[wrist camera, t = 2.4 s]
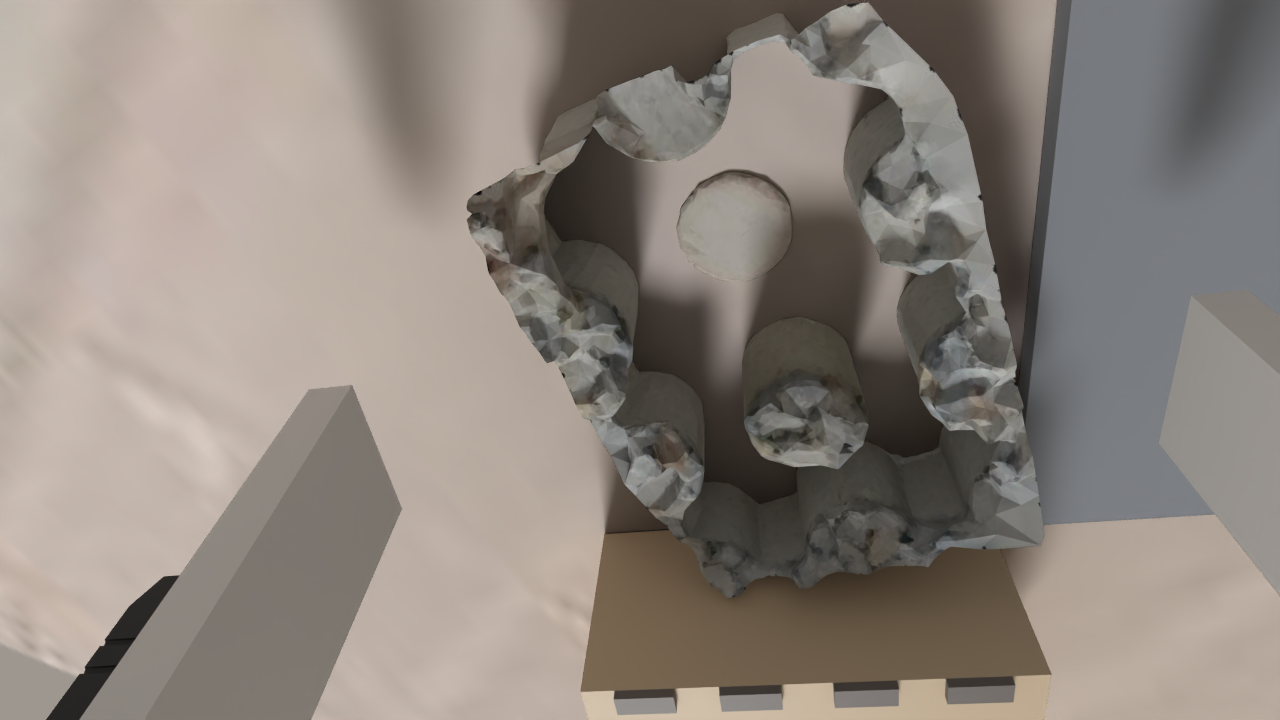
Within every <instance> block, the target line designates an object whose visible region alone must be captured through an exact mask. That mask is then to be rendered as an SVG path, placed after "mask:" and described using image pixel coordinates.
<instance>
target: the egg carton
mask: <svg viewBox="0 0 1280 720" xmlns="http://www.w3.org/2000/svg"><path fill="white" fill-rule="evenodd" d="M726 41H727V48H728V50H727V55H726V56H725V57H723V58H721V59H720V60H718V61H717V62H716V63H715V64H714V65H713V66H712V68H711V70H710V72H709V74H707V75H706V76H705V77H703V78H701V79H698V80H695V81H691V82H687V81H686V80H685V79H684V78H683V77H682V76H681V75H680V74H679V73H678V72H677V71H676V70H675V69H674V68H673V67H672V66H669V67H667V68H665V69H662V70H657V71H654V72H651V73H649V74H647V75H644V76H642V77H639V78H636V79H633V80H630V81H627V82H625V83H622V84H620V85H617V86H615V87H612V88H610V89H607V90H605V91H603V92H602V93H600V94H599V95H597V97H596V98H595V99H592V100H590V101H588V102H586V103H583V104H581V105H579V106H577V107H575V108H572V109H570V110H567V111H566V112H564V113H562V114H560V115H559V116H558V118H557V119H556V121H555V123H554V125H553V127H552V129H551V131H550V133H549V134H548V136H547V137H546V139H545V141H544V146H543V149H542V151H541V152H540V154H539V161H540V162H539V163H536V164H534V165H531V166H528V167H526V168H523V169H515V170H514V171H513V172H511V173H510V174H509V175H508V176H506V177H505V178H504V179H502V180H500V181H498V182H496V183H495V184H493V185H491V186H489V187H487V188H485V189H483V190H481V191H479V192H478V193H476V194H474V195H473V196H472V197H471V198H470V199H469V200H468V203H467V210H468V211H469V212H471V213H472V215H471V216H470V217H469V218H468V219H467V222H468V226H469V230H470V234H471V236H472V237H473V239H474V240H475V241H476V243H477V244H478V245H479V246H480V248H481V249H482V251H483V253H484V254H485V256H486V262H487V267H488V271H489V274H490V276H491V277H492V279H493V280H494V282H495V283H496V285H497V287H498V289H499V291H500V293H501V294H502V295H503V296H505V298H506V299H507V300H508V302H509V303H510V305H511V307H512V310H513V312H514V314H515V317H516V319H517V321H518V324H519V326H520V328H521V329H522V330H523V331H524V332H525V333H526V335H527V336H528V338H529V339H530V341H531V343H532V344H533V345H534V346H535V347H536V349H537V350H538V351H539V352H540V354H541V356H542V357H543V359H544V360H545V361H546V362H547V363H549V362H552V361H555V362H556V364H557V365H558V367H559V369H560V371H561V373H562V375H563V377H564V379H565V381H566V383H567V386H568V388H569V390H570V392H571V394H572V397H573V399H574V401H575V404H576V406H577V408H578V410H579V412H580V413H581V415H582V417H583V418H584V419H587V420H590V421H591V423H592V425H593V427H594V428H595V430H596V432H597V434H598V436H599V438H600V439H601V441H602V443H603V445H604V446H605V448H606V449H607V451H608V452H609V454H610V455H611V457H612V459H613V461H614V464H615V466H616V468H617V470H618V472H619V474H620V476H621V478H622V480H623V483H624V485H625V486H626V487H627V488H628V489H629V490H630V491H631V492H632V493H633V494H634V495H635V496H636V497H637V498H638V499H639V500H640V501H641V502H642V503H643V505H644V506H645V507H646V508H647V509H648V510H649V511H650V512H651V513H652V514H653V515H654V516H655V517H656V518H657V519H658V520H660V521H661V522H663V523H664V524H666V525H667V527H668V528H669V530H670V531H671V533H672V534H673V536H674V537H675V538H676V539H677V540H679V541H680V542H681V543H685V544H688V545H689V546H690V547H691V548H692V549H693V550H694V552H695V554H696V556H697V560H698V564H699V568H700V571H701V573H702V574H703V576H704V577H705V579H706V580H707V582H708V583H709V584H710V585H711V587H714V588H716V589H717V590H718V591H719V592H720V593H722V594H723V595H724V596H725V597H727V598H731V597H735V596H738V595H740V594H742V593H743V592H744V590H745V589H746V587H747V585H748V584H749V583H750V582H752V581H753V580H755V579H760V578H765V577H771V576H782V577H790V578H791V580H792V581H793V582H794V583H795V584H796V585H797V587H798V588H799V589H808V588H811V587H813V586H814V585H815V584H816V583H818V582H819V581H820V580H821V579H823V578H824V577H825V576H826V575H829V574H832V573H834V572H847V573H855V574H856V575H859V574H860V573H862V574H865V575H869V574H871V573H873V572H875V571H877V570H879V569H882V568H885V567H888V566H924V567H929V566H930V564H931V563H932V561H933V560H934V559H935V558H936V557H937V556H938V555H939V554H941V553H942V552H943V551H944V550H946V549H948V548H949V547H961V548H971V549H1005V548H1017V547H1028V546H1040V545H1041V543H1042V540H1043V537H1044V529H1043V521H1042V514H1041V506H1040V499H1039V492H1038V486H1037V480H1036V474H1035V468H1034V462H1033V456H1032V452H1031V449H1030V445H1029V442H1028V438H1027V434H1026V430H1025V425H1024V420H1023V415H1022V409H1023V408H1024V407H1023V402H1022V399H1021V396H1020V393H1019V390H1018V387H1017V384H1016V376H1015V371H1016V367H1017V363H1016V358H1015V353H1014V348H1013V343H1012V338H1011V334H1010V330H1009V326H1008V322H1007V319H1006V315H1005V312H1004V308H1003V305H1002V300H1001V294H1000V289H999V283H998V277H997V271H996V265H995V262H994V258H993V254H992V250H991V246H990V242H989V238H988V234H987V230H986V224H985V216H984V208H983V201H982V196H981V192H980V187H979V183H978V178H977V174H976V169H975V165H974V160H973V156H972V151H971V147H970V142H969V138H968V134H967V131H966V128H965V126H964V123H963V120H962V118H961V115H960V113H959V110H958V107H957V105H956V102H955V99H954V97H953V95H952V94H951V92H950V91H949V90H948V88H947V87H946V86H945V84H944V83H943V82H942V80H941V79H940V78H939V76H938V75H937V74H936V72H935V71H934V70H933V69H932V68H931V67H930V66H929V65H928V64H927V63H926V62H925V61H924V60H923V59H922V58H921V57H920V56H919V55H918V54H917V53H916V52H915V51H914V50H913V49H912V48H911V47H910V46H909V45H908V44H907V43H906V42H905V41H904V40H903V39H901V38H900V37H899V36H898V35H897V34H896V33H895V32H894V31H893V30H892V29H891V28H890V27H889V26H888V25H887V24H886V23H885V22H884V21H883V20H882V19H881V17H880V16H879V15H878V14H877V12H876V11H875V10H874V9H873V8H872V6H871V5H870V4H869V3H858V4H848V5H844V6H842V7H839V8H837V9H835V10H832V11H830V12H829V13H828V14H826V15H825V16H823V17H822V18H821V19H819V20H818V21H816V22H814V23H813V24H811V25H810V26H808V27H807V28H805V29H804V30H803V31H802V32H801V33H800V34H798V33H797V31H796V30H795V29H794V28H793V27H792V25H791V24H790V22H789V21H788V20H787V18H786V17H785V16H784V14H783V13H775V14H772V15H770V16H768V17H766V18H763V19H761V20H759V21H757V22H754V23H752V24H750V25H747V26H743V27H739V28H737V29H736V30H734V31H733V32H731V33H730V34H729V35H728V36H727V37H726ZM767 42H785V43H786V44H787V46H788V47H789V49H790V50H791V51H792V52H793V53H794V54H796V55H797V56H798V57H799V58H800V59H801V60H802V61H803V62H804V63H805V64H806V65H807V66H808V67H809V69H810V71H811V73H812V75H814V76H818V77H822V78H826V79H829V80H833V81H837V82H842V83H851V84H859V85H864V86H868V87H873V88H878V89H882V90H883V91H884V92H885V93H887V96H888V99H886V100H885V101H883V102H882V103H880V104H879V105H877V106H876V107H874V108H873V109H871V110H870V111H868V112H867V113H866V114H865V115H864V117H863V118H862V119H861V120H860V121H859V123H858V124H857V125H856V127H855V128H854V130H853V131H852V133H851V135H850V137H849V139H848V143H847V145H846V148H845V154H844V179H845V181H846V183H847V185H848V188H849V191H850V195H851V198H852V200H853V203H854V205H855V207H856V210H857V213H858V216H859V218H860V221H861V223H862V225H863V227H864V229H865V231H866V233H867V235H868V237H869V238H870V240H871V241H872V243H873V244H874V245H875V247H876V249H877V251H878V254H879V256H880V263H882V264H884V265H886V266H889V267H898V268H901V269H903V270H906V271H908V272H911V273H914V274H917V276H916V277H915V278H914V279H913V280H912V281H911V282H910V284H909V285H908V286H907V287H906V289H905V291H904V292H903V294H902V296H901V297H900V300H899V303H898V306H897V319H898V325H899V329H900V332H901V334H902V337H903V340H904V343H905V346H906V349H907V352H908V354H909V357H910V360H911V363H912V366H913V368H914V371H915V373H916V375H917V378H918V387H919V396H920V398H921V399H922V401H923V402H924V404H925V406H926V407H927V409H928V410H929V412H930V413H931V415H932V416H933V417H935V418H936V419H938V420H939V421H940V422H942V424H943V425H944V426H943V428H942V430H941V434H940V440H939V446H938V448H936V449H935V450H933V451H931V452H927V453H923V454H920V455H916V456H911V457H906V458H903V457H902V456H900V455H898V454H890V453H887V451H886V450H883V449H882V448H880V447H879V446H877V445H875V444H872V443H870V442H867V441H864V440H865V436H866V433H867V429H868V425H869V424H868V416H869V411H868V408H867V405H866V402H865V399H864V396H863V393H862V390H861V387H860V384H859V381H858V378H857V375H856V372H855V368H854V364H853V361H852V357H851V354H850V350H849V347H848V345H847V343H846V341H845V339H844V338H843V337H842V336H841V335H840V334H839V333H838V332H837V331H835V330H834V329H833V328H831V327H829V326H827V325H825V324H823V323H821V322H818V321H814V320H811V319H808V318H804V317H795V318H787V319H780V320H778V321H776V322H774V323H772V324H769V325H767V326H766V327H764V328H763V329H762V330H760V331H759V332H758V333H756V334H755V335H754V336H753V337H752V338H751V340H750V341H749V343H748V345H747V347H746V349H745V351H744V356H743V362H742V385H743V405H744V425H745V429H746V431H747V432H748V434H749V437H750V440H751V442H752V445H753V446H754V447H755V448H756V450H757V451H758V452H759V454H760V455H761V456H762V457H764V458H765V459H767V460H770V461H774V462H778V463H782V464H785V465H789V466H793V467H798V469H797V474H796V484H797V492H796V493H795V494H793V495H790V496H787V497H782V498H779V499H777V500H774V501H770V502H766V503H762V504H759V503H757V502H756V501H754V500H753V499H752V498H751V497H750V496H749V495H747V494H746V493H745V492H744V491H742V490H741V489H739V488H737V487H735V486H733V485H731V484H728V483H722V482H715V481H713V482H703V479H704V471H705V455H704V449H705V419H704V412H703V405H702V401H701V399H700V398H699V396H698V395H697V393H696V392H695V390H694V389H693V388H692V387H691V386H689V385H688V384H687V383H686V382H685V381H683V380H682V379H680V378H678V377H676V376H675V375H672V374H667V373H661V372H654V371H644V372H640V371H639V370H637V368H636V367H635V365H634V363H633V362H632V355H633V340H634V335H635V327H636V320H637V313H638V291H639V286H638V283H637V280H636V277H635V274H634V272H633V270H632V269H631V268H630V266H629V265H628V264H627V262H626V261H625V260H624V259H623V258H621V257H620V256H619V255H618V254H617V253H616V252H615V251H614V250H612V249H610V248H608V247H606V246H605V245H603V244H601V243H596V242H590V241H584V240H569V241H561V240H560V239H559V238H558V236H557V234H556V233H555V231H554V230H553V228H552V226H551V225H550V223H549V222H548V220H547V219H546V217H545V214H544V205H545V198H546V196H547V194H548V192H549V190H550V188H551V186H552V184H553V182H554V180H555V177H556V174H557V173H559V172H560V171H561V170H563V169H564V168H566V167H567V166H568V165H570V164H571V163H572V162H574V160H575V158H576V156H577V155H578V153H579V151H580V150H581V148H582V146H583V144H584V143H585V141H586V139H587V137H588V136H589V134H590V132H591V129H592V127H594V128H595V129H596V130H597V131H598V133H599V134H600V135H601V137H602V138H603V139H604V140H605V142H606V143H607V144H609V145H610V146H612V147H614V148H615V149H617V150H619V151H620V152H622V153H624V154H625V155H627V156H629V157H631V158H634V159H637V160H642V161H648V162H660V161H668V160H672V161H679V160H681V159H683V158H685V157H687V156H690V155H692V154H693V153H695V152H697V151H699V150H700V149H701V148H703V147H704V146H706V145H707V143H708V142H709V141H710V140H711V139H712V138H713V137H714V136H715V135H716V133H717V132H718V131H719V130H720V129H721V126H722V124H723V122H724V120H725V118H726V114H727V110H728V106H729V102H730V98H731V68H732V64H733V60H734V59H735V58H736V57H738V56H739V55H740V54H742V53H743V52H745V51H746V50H749V49H752V48H754V47H757V46H759V45H762V44H765V43H767ZM677 233H678V238H679V242H680V247H681V249H682V251H683V252H684V253H685V254H686V255H687V257H688V261H689V262H691V263H693V264H694V267H695V268H696V269H698V270H699V271H701V272H703V273H705V274H707V275H708V276H710V277H712V278H715V279H719V280H722V281H734V282H743V281H747V280H752V279H756V278H758V277H759V276H761V275H763V274H765V273H766V272H768V271H770V270H771V269H772V268H773V267H774V266H775V265H776V264H777V263H778V262H779V261H780V260H781V259H782V258H783V257H784V256H785V254H786V252H787V249H788V247H789V244H790V242H791V239H792V215H791V210H790V206H789V204H788V202H787V200H786V199H785V197H784V196H783V194H782V193H781V192H780V191H779V190H778V189H777V188H776V187H775V186H774V185H772V184H771V183H769V182H767V181H765V180H763V179H761V178H759V177H756V176H753V175H749V174H746V173H741V172H729V173H725V174H721V175H718V176H715V177H711V178H710V179H708V180H707V181H705V182H703V183H702V184H700V185H699V186H697V187H696V189H695V190H694V193H693V194H691V195H690V196H689V197H688V199H687V200H686V201H685V203H684V204H683V206H682V207H681V209H680V216H679V220H678V224H677Z"/></svg>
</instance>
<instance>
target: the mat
mask: <svg viewBox="0 0 1280 720" xmlns="http://www.w3.org/2000/svg"><path fill="white" fill-rule="evenodd" d="M1240 290H1248V291H1249V292H1250V293H1252V294H1253V295H1254V296H1256V297H1257V298H1258V299H1259V300H1261V301H1262V302H1263V303H1264V304H1266V305H1267V306H1268V307H1269V308H1271V309H1272V310H1273V311H1274V312H1276V313H1277V314H1278V315H1279V316H1280V0H1057V10H1056V20H1055V30H1054V40H1053V50H1052V60H1051V70H1050V79H1049V89H1048V99H1047V109H1046V119H1045V129H1044V139H1043V149H1042V159H1041V168H1040V178H1039V188H1038V198H1037V208H1036V218H1035V228H1034V238H1033V247H1032V257H1031V267H1030V277H1029V287H1028V297H1027V307H1026V317H1025V326H1024V336H1023V346H1022V356H1021V366H1020V376H1019V386H1018V390H1019V393H1020V396H1021V399H1022V402H1023V407H1024V408H1023V409H1022V415H1023V420H1024V425H1025V430H1026V434H1027V438H1028V442H1029V445H1030V449H1031V452H1032V456H1033V462H1034V468H1035V474H1036V480H1037V486H1038V492H1039V499H1040V506H1041V514H1042V521H1043V525H1049V524H1066V523H1082V522H1099V521H1115V520H1132V519H1148V518H1164V517H1181V516H1197V515H1214V512H1213V511H1212V510H1211V509H1210V507H1209V506H1208V505H1207V504H1206V502H1205V501H1204V500H1203V498H1202V497H1201V496H1200V495H1199V493H1198V492H1197V491H1196V490H1195V488H1194V487H1193V486H1192V485H1191V483H1190V482H1189V481H1188V479H1187V478H1186V477H1185V476H1184V474H1183V473H1182V472H1181V471H1180V469H1179V468H1178V467H1177V466H1176V464H1175V463H1174V462H1173V460H1172V459H1171V458H1170V457H1169V455H1168V454H1167V453H1166V452H1165V450H1164V449H1163V448H1162V447H1161V445H1160V444H1159V440H1160V435H1161V431H1162V426H1163V422H1164V417H1165V412H1166V408H1167V403H1168V399H1169V394H1170V390H1171V385H1172V381H1173V376H1174V372H1175V367H1176V362H1177V358H1178V353H1179V349H1180V344H1181V340H1182V335H1183V331H1184V326H1185V321H1186V317H1187V312H1188V308H1189V303H1190V299H1191V296H1193V295H1202V294H1212V293H1221V292H1231V291H1240Z"/></svg>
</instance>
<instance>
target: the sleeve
mask: <svg viewBox="0 0 1280 720" xmlns="http://www.w3.org/2000/svg"><path fill="white" fill-rule="evenodd" d="M1051 676H1052V674H1051V672H1050V669H1049V667H1048V665H1047V662H1046V660H1045V657H1044V655H1043V653H1042V650H1041V648H1040V645H1039V643H1038V640H1037V638H1036V636H1035V633H1034V631H1033V628H1032V626H1031V624H1030V621H1029V619H1028V616H1027V614H1026V611H1025V609H1024V607H1023V604H1022V602H1021V599H1020V597H1019V595H1018V592H1017V590H1016V587H1015V585H1014V582H1013V580H1012V578H1011V575H1010V573H1009V570H1008V568H1007V566H1006V563H1005V561H1004V558H1003V556H1002V553H1001V551H1000V549H971V548H961V547H949V548H948V549H946V550H944V551H943V552H942V553H941V554H939V555H938V556H937V557H936V558H935V559H934V560H933V561H932V563H931V564H930V566H929V567H924V566H888V567H885V568H882V569H879V570H877V571H875V572H873V573H871V574H869V575H865V574H862V573H860V574H859V575H856V574H855V573H847V572H834V573H832V574H829V575H826V576H825V577H824V578H823V579H821V580H820V581H819V582H818V583H816V584H815V585H814V586H813V587H811V588H808V589H799V588H798V587H797V585H796V584H795V583H794V582H793V581H792V580H791V578H790V577H782V576H771V577H765V578H760V579H755V580H753V581H752V582H750V583H749V584H748V585H747V587H746V589H745V590H744V592H743V593H742V594H740V595H738V596H735V597H731V598H727V597H725V596H724V595H723V594H722V593H720V592H719V591H718V590H717V589H716V588H714V587H711V585H710V584H709V583H708V582H707V580H706V579H705V577H704V576H703V574H702V573H701V571H700V568H699V564H698V560H697V556H696V554H695V552H694V550H693V549H692V548H691V547H690V546H689V545H688V544H685V543H681V542H680V541H679V540H677V539H676V538H675V537H674V536H673V534H672V533H671V531H670V530H663V531H647V532H631V533H616V534H604V541H603V547H602V554H601V560H600V567H599V574H598V580H597V587H596V593H595V600H594V606H593V613H592V619H591V626H590V633H589V639H588V646H587V652H586V659H585V665H584V672H583V678H582V685H581V696H582V699H583V702H584V706H585V709H586V712H587V716H588V719H589V720H1044V719H1045V713H1046V707H1047V701H1048V695H1049V688H1050V682H1051Z"/></svg>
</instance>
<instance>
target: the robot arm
mask: <svg viewBox="0 0 1280 720" xmlns="http://www.w3.org/2000/svg"><path fill="white" fill-rule="evenodd" d="M1159 444H1160V445H1161V447H1162V448H1163V449H1164V450H1165V452H1166V453H1167V454H1168V455H1169V457H1170V458H1171V459H1172V460H1173V462H1174V463H1175V464H1176V466H1177V467H1178V468H1179V469H1180V471H1181V472H1182V473H1183V474H1184V476H1185V477H1186V478H1187V479H1188V481H1189V482H1190V483H1191V485H1192V486H1193V487H1194V488H1195V490H1196V491H1197V492H1198V493H1199V495H1200V496H1201V497H1202V498H1203V500H1204V501H1205V502H1206V504H1207V505H1208V506H1209V507H1210V509H1211V510H1212V511H1213V512H1214V514H1215V515H1216V516H1217V517H1218V519H1219V520H1220V521H1221V523H1222V524H1223V525H1224V526H1225V528H1226V529H1227V530H1228V531H1229V533H1230V534H1231V535H1232V536H1233V538H1234V539H1235V540H1236V542H1237V543H1238V544H1239V545H1240V547H1241V548H1242V549H1243V550H1244V552H1245V553H1246V554H1247V555H1248V557H1249V558H1250V559H1251V561H1252V562H1253V563H1254V564H1255V566H1256V567H1257V568H1258V569H1259V571H1260V572H1261V573H1262V574H1263V576H1264V577H1265V578H1266V579H1267V581H1268V582H1269V583H1270V585H1271V586H1272V587H1273V588H1274V590H1275V591H1276V592H1277V593H1278V595H1279V596H1280V316H1279V315H1278V314H1277V313H1276V312H1274V311H1273V310H1272V309H1271V308H1269V307H1268V306H1267V305H1266V304H1264V303H1263V302H1262V301H1261V300H1259V299H1258V298H1257V297H1256V296H1254V295H1253V294H1252V293H1250V292H1249V291H1248V290H1240V291H1231V292H1221V293H1212V294H1202V295H1193V296H1191V299H1190V303H1189V308H1188V312H1187V317H1186V321H1185V326H1184V331H1183V335H1182V340H1181V344H1180V349H1179V353H1178V358H1177V362H1176V367H1175V372H1174V376H1173V381H1172V385H1171V390H1170V394H1169V399H1168V403H1167V408H1166V412H1165V417H1164V422H1163V426H1162V431H1161V435H1160V440H1159ZM401 510H402V508H401V505H400V503H399V500H398V498H397V495H396V493H395V490H394V488H393V485H392V483H391V480H390V478H389V475H388V473H387V470H386V468H385V466H384V463H383V461H382V458H381V456H380V453H379V451H378V448H377V446H376V443H375V441H374V438H373V436H372V433H371V431H370V428H369V426H368V423H367V421H366V419H365V416H364V414H363V411H362V409H361V406H360V404H359V401H358V399H357V396H356V394H355V391H354V389H353V386H352V385H348V386H339V387H330V388H320V389H311V390H308V392H307V393H306V395H305V396H304V398H303V399H302V400H301V402H300V403H299V405H298V406H297V408H296V409H295V411H294V412H293V413H292V415H291V416H290V418H289V419H288V421H287V422H286V423H285V425H284V426H283V428H282V429H281V431H280V432H279V434H278V435H277V436H276V438H275V439H274V441H273V442H272V444H271V445H270V446H269V448H268V449H267V451H266V452H265V454H264V455H263V457H262V458H261V459H260V461H259V462H258V464H257V465H256V467H255V468H254V469H253V471H252V472H251V474H250V475H249V477H248V478H247V480H246V481H245V482H244V484H243V485H242V487H241V488H240V490H239V491H238V492H237V494H236V495H235V497H234V498H233V500H232V501H231V503H230V504H229V505H228V507H227V508H226V510H225V511H224V513H223V514H222V515H221V517H220V518H219V520H218V521H217V523H216V524H215V526H214V527H213V528H212V530H211V531H210V533H209V534H208V536H207V537H206V538H205V540H204V541H203V543H202V544H201V546H200V547H199V549H198V550H197V551H196V553H195V554H194V556H193V557H192V559H191V560H190V561H189V563H188V564H187V566H186V567H185V569H184V570H183V572H182V573H181V574H180V575H178V576H165V577H163V578H162V579H160V580H159V581H158V582H157V583H156V584H155V585H154V586H152V587H151V588H150V589H149V590H148V591H147V592H145V593H144V594H143V595H142V596H141V597H140V598H138V599H137V600H136V601H135V602H134V603H133V604H131V605H130V606H129V607H128V609H127V610H126V612H125V613H124V614H123V616H122V617H121V618H120V620H119V621H118V622H117V624H116V625H115V627H114V628H113V629H112V631H111V632H110V633H109V635H108V636H107V637H106V639H105V645H104V646H100V647H99V648H98V650H97V651H96V652H95V654H94V655H93V656H92V658H91V659H90V661H89V662H88V663H87V665H86V666H85V673H84V674H79V676H78V677H77V678H76V680H75V681H74V682H73V684H72V685H71V686H70V688H69V689H68V691H67V692H66V693H65V695H64V696H63V697H62V699H61V700H60V701H59V703H58V704H57V706H56V707H55V708H54V710H53V711H52V713H51V714H50V715H49V716H48V718H47V719H46V720H311V718H312V716H313V714H314V712H315V709H316V707H317V705H318V702H319V700H320V698H321V695H322V693H323V691H324V688H325V686H326V684H327V681H328V679H329V677H330V674H331V672H332V670H333V667H334V665H335V663H336V660H337V658H338V656H339V653H340V651H341V649H342V647H343V644H344V642H345V640H346V637H347V635H348V633H349V630H350V628H351V626H352V623H353V621H354V619H355V616H356V614H357V612H358V609H359V607H360V605H361V602H362V600H363V598H364V595H365V593H366V591H367V588H368V586H369V584H370V581H371V579H372V577H373V575H374V572H375V570H376V568H377V565H378V563H379V561H380V558H381V556H382V554H383V551H384V549H385V547H386V544H387V542H388V540H389V537H390V535H391V533H392V530H393V528H394V526H395V523H396V521H397V519H398V516H399V514H400V512H401Z"/></svg>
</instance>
